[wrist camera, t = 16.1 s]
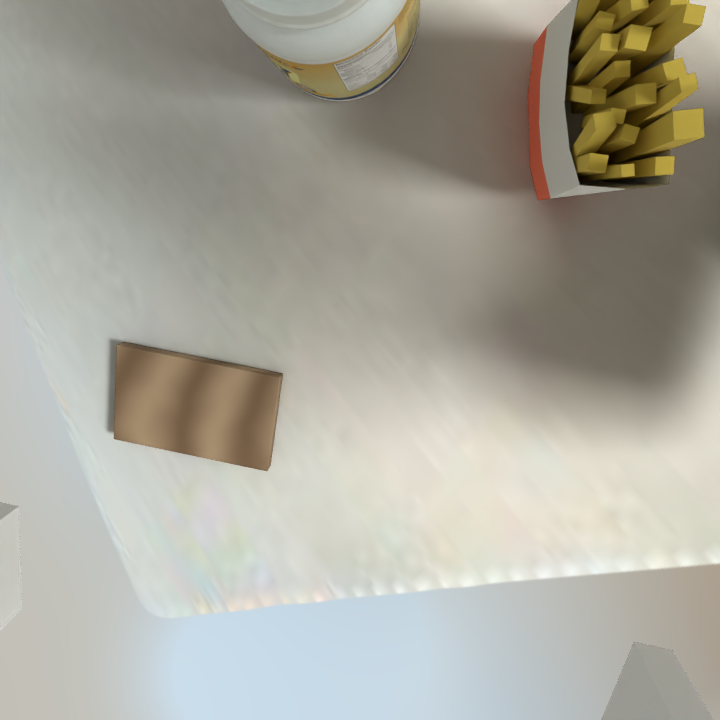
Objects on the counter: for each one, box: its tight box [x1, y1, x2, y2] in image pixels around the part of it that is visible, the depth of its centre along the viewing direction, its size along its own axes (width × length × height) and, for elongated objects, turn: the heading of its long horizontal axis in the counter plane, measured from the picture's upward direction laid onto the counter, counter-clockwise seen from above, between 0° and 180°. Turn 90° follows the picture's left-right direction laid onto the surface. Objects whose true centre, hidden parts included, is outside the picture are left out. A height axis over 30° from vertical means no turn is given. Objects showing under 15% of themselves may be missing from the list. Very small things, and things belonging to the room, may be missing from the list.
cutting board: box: [114, 342, 283, 471], centre depth 50 cm, size 16×10×1 cm, turn 80°
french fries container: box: [528, 0, 706, 200], centre depth 32 cm, size 5×11×18 cm, turn 7°
